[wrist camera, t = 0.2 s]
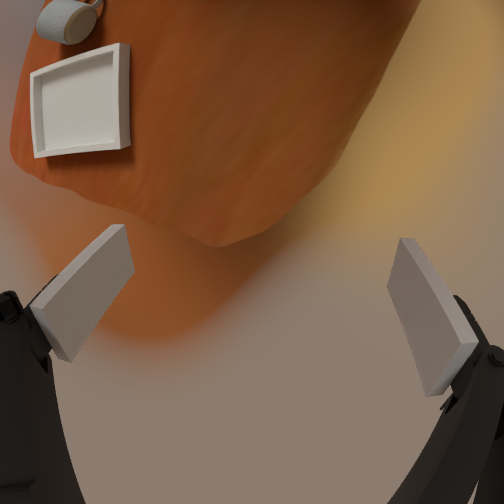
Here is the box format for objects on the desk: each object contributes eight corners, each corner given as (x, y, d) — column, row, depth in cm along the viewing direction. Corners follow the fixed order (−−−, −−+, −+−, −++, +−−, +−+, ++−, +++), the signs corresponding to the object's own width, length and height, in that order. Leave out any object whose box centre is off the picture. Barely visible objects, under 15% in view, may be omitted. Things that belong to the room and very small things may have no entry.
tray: (41, 72, 33) (30, 73, 31) (130, 45, 31) (119, 42, 29) (45, 153, 41) (34, 158, 38) (130, 145, 39) (120, 149, 36)
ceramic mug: (87, 48, 31) (56, 44, 25) (58, 39, 30) (28, 37, 23) (117, -8, 26) (90, -20, 20) (85, -13, 25) (58, -22, 18)
